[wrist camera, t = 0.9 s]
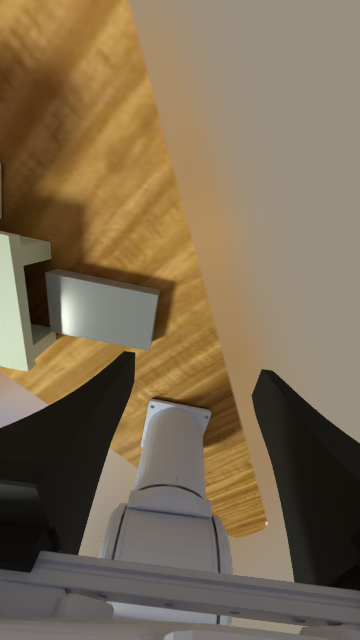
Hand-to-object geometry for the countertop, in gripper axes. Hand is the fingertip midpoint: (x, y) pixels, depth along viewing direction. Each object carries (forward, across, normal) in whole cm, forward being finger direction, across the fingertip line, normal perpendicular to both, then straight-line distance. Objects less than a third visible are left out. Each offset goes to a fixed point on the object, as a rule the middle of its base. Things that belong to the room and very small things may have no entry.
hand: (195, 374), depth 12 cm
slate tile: (+10, +9, +1) cm, 13 cm away
